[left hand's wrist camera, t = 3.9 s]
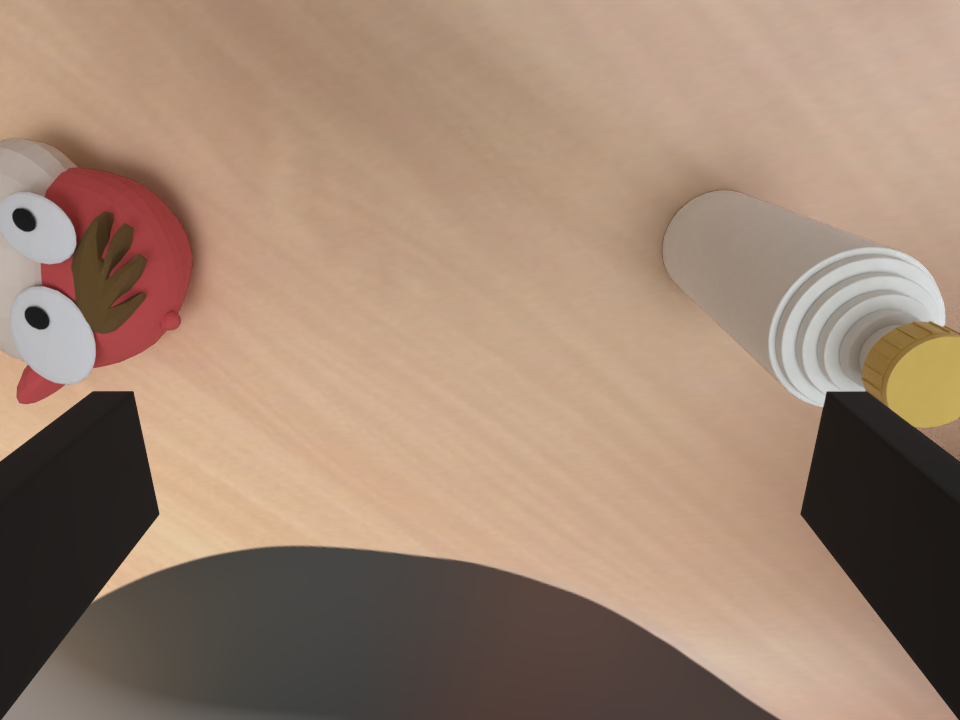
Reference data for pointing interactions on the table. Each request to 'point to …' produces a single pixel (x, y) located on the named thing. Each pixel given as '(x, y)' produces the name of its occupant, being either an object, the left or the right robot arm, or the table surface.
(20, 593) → the left robot arm
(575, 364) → the table surface
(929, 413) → the cap
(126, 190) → the toy
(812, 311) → the bottle
